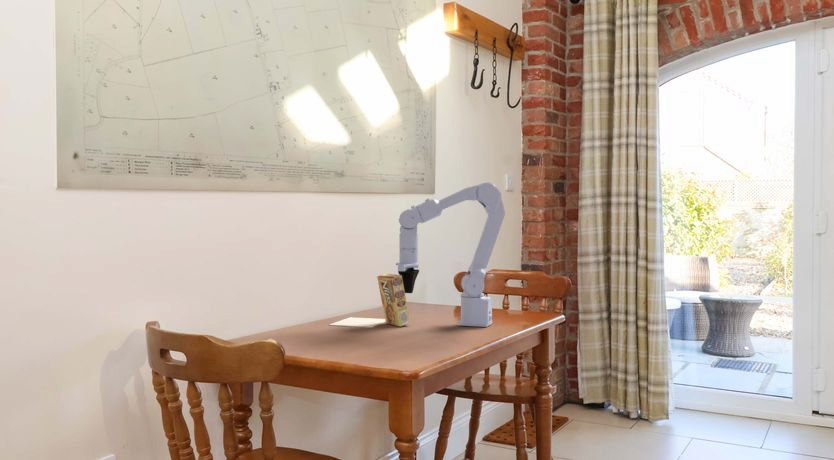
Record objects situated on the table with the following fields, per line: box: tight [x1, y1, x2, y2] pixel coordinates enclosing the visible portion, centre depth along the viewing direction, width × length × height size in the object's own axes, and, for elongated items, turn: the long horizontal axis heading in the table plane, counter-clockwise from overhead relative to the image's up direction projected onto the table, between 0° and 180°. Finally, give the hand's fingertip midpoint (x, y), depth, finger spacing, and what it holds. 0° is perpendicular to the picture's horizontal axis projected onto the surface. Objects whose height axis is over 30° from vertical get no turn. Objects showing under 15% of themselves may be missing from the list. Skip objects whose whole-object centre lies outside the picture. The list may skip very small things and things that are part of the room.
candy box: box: [376, 273, 411, 327], centre depth 239 cm, size 9×4×15 cm, turn 33°
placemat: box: [328, 316, 386, 329], centre depth 244 cm, size 14×16×1 cm
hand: (408, 293), depth 239 cm, fingers closed
